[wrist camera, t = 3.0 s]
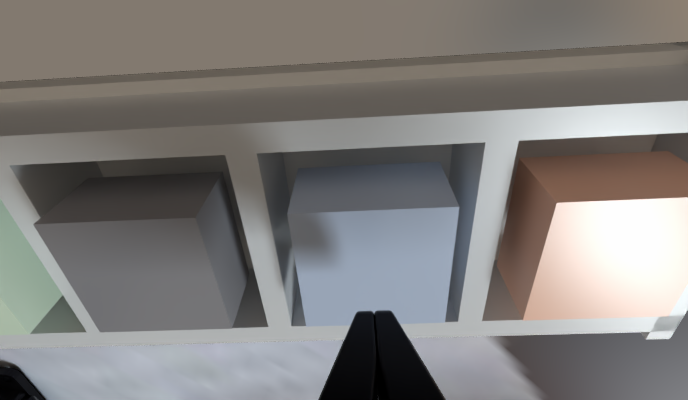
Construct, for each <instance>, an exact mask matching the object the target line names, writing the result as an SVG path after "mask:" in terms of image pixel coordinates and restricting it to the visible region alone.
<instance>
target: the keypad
mask: <svg viewBox="0 0 688 400" xmlns="http://www.w3.org/2000/svg"><path fill="white" fill-rule="evenodd" d="M657 151H669V152H671V153H672V154H674V155H675V156H677V157H679V158H680V159H682V160H684V161H685V162H687V163H688V42H677V43H662V44H661V43H660V44H643V45H626V46H608V47H592V48H575V49H557V50H540V51H524V52H506V53H490V54H489V53H488V54H471V55H454V56H437V57H420V58H403V59H386V60H370V61H351V62H334V63H317V64H300V65H283V66H266V67H248V68H232V69H216V70H198V71H181V72H164V73H146V74H128V75H113V76H112V75H111V76H95V77H77V78H60V79H43V80H26V81H8V82H0V199H1V200H2V202H3V204H4V205H5V207H6V208H7V210H8V211H9V213H10V214H11V216H12V217H13V219H14V221H15V222H16V224H17V225H18V227H19V228H20V230H21V231H22V233H23V234H24V236H25V237H26V239H27V241H28V242H29V244H30V245H31V247H32V248H33V250H34V251H35V253H36V254H37V256H38V258H39V259H40V261H41V262H42V264H43V265H44V267H45V268H46V270H47V271H48V273H49V274H50V276H51V278H52V279H53V281H54V282H55V284H56V285H57V287H58V288H59V290H60V291H61V293H62V297H61V298H60V299H59V300H58V301H57V302H56V304H55V305H54V306H53V307H52V308H51V310H50V311H49V312H48V313H47V314H46V315H45V317H44V318H43V319H42V320H41V321H40V323H39V324H38V325H37V326H36V327H35V328H34V330H33V331H32V332H31V333H30V334H27V335H0V349H21V348H59V347H96V346H134V345H172V344H210V343H248V342H285V341H323V340H344V339H345V337H346V335H347V332H348V330H349V328H350V325H347V326H311V327H306V322H305V316H304V311H303V305H302V299H301V293H300V287H299V281H298V275H297V270H296V264H295V258H294V252H293V246H292V240H291V234H290V228H289V223H288V217H287V212H288V208H289V204H290V200H291V196H292V192H293V187H294V183H295V179H296V175H297V171H298V168H312V167H334V166H356V165H377V164H399V163H420V162H440V163H441V166H442V168H443V170H444V172H445V175H446V177H447V179H448V182H449V184H450V186H451V188H452V191H453V193H454V195H455V198H456V200H457V202H458V204H459V215H458V223H457V231H456V239H455V247H454V254H453V262H452V270H451V278H450V286H449V294H448V302H447V310H446V318H445V323H418V324H400V325H401V327H402V328H403V330H404V332H405V333H406V335H407V337H408V338H437V337H474V336H512V335H550V334H585V333H586V334H588V333H621V332H622V333H626V332H641V334H642V335H643V336H644V338H645V339H670V337H671V336H672V334H673V333H674V331H675V329H676V328H677V326H678V325H679V323H680V321H681V320H682V318H683V317H684V315H685V313H686V312H687V310H688V284H687V286H686V288H685V289H684V291H683V293H682V294H681V296H680V298H679V300H678V301H677V303H676V305H675V306H674V308H673V310H672V311H671V313H670V315H669V316H667V317H631V318H596V319H560V320H525V321H523V320H522V318H521V316H520V314H519V312H518V310H517V307H516V305H515V303H514V301H513V299H512V297H511V295H510V293H509V291H508V288H507V286H506V284H505V282H504V280H503V278H502V276H501V274H500V272H499V269H498V267H497V261H498V257H499V252H500V247H501V242H502V237H503V233H504V228H505V223H506V218H507V214H508V209H509V204H510V199H511V195H512V190H513V185H514V180H515V176H516V171H517V166H518V161H519V158H528V157H549V156H571V155H593V154H614V153H636V152H657ZM205 172H223V175H224V179H225V183H226V186H227V190H228V194H229V198H230V202H231V205H232V209H233V213H234V217H235V221H236V224H237V228H238V232H239V236H240V240H241V243H242V247H243V251H244V255H245V259H246V263H247V266H248V270H249V277H248V280H247V283H246V287H245V290H244V293H243V296H242V299H241V302H240V305H239V309H238V312H237V315H236V318H235V321H234V324H233V328H232V329H204V330H169V331H133V332H99V330H98V328H97V327H96V325H95V324H94V322H93V320H92V319H91V317H90V315H89V314H88V312H87V311H86V309H85V307H84V306H83V304H82V303H81V301H80V299H79V298H78V296H77V295H76V293H75V291H74V290H73V288H72V286H71V285H70V283H69V282H68V280H67V278H66V277H65V275H64V274H63V272H62V270H61V269H60V267H59V266H58V264H57V262H56V261H55V259H54V257H53V256H52V254H51V253H50V251H49V249H48V248H47V246H46V245H45V243H44V241H43V240H42V238H41V237H40V235H39V233H38V232H37V230H36V228H35V227H34V225H33V224H34V223H35V222H36V221H38V220H39V219H40V218H41V217H42V216H43V215H45V214H46V213H47V212H48V211H49V210H51V209H52V208H53V207H54V206H55V205H56V204H58V203H59V202H60V201H61V200H62V199H64V198H65V197H66V196H67V195H68V194H70V193H71V192H72V191H73V190H74V189H75V188H77V187H78V186H79V185H80V184H81V183H83V182H84V181H85V180H86V179H87V178H97V177H118V176H140V175H162V174H183V173H205Z"/></svg>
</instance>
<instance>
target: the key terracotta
mask: <svg viewBox="0 0 688 400" xmlns="http://www.w3.org/2000/svg"><path fill="white" fill-rule="evenodd" d="M497 267H498V269H499V272H500V274H501V276H502V278H503V280H504V282H505V284H506V286H507V288H508V291H509V293H510V295H511V297H512V299H513V301H514V303H515V305H516V307H517V310H518V312H519V314H520V316H521V318H522V320H523V321H525V320H560V319H596V318H631V317H667V316H669V315H670V313H671V311H672V310H673V308H674V306H675V305H676V303H677V301H678V300H679V298H680V296H681V294H682V293H683V291H684V289H685V288H686V286H687V284H688V163H687V162H685V161H684V160H682V159H680V158H679V157H677V156H675V155H674V154H672V153H671V152H669V151H657V152H636V153H614V154H593V155H571V156H549V157H528V158H519V161H518V166H517V171H516V176H515V180H514V185H513V190H512V195H511V199H510V204H509V209H508V214H507V218H506V223H505V228H504V233H503V237H502V242H501V247H500V252H499V257H498V261H497Z"/></svg>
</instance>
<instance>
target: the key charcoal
mask: <svg viewBox="0 0 688 400" xmlns="http://www.w3.org/2000/svg"><path fill="white" fill-rule="evenodd" d="M33 225H34V227H35V228H36V230H37V232H38V233H39V235H40V237H41V238H42V240H43V241H44V243H45V245H46V246H47V248H48V249H49V251H50V253H51V254H52V256H53V257H54V259H55V261H56V262H57V264H58V266H59V267H60V269H61V270H62V272H63V274H64V275H65V277H66V278H67V280H68V282H69V283H70V285H71V286H72V288H73V290H74V291H75V293H76V295H77V296H78V298H79V299H80V301H81V303H82V304H83V306H84V307H85V309H86V311H87V312H88V314H89V315H90V317H91V319H92V320H93V322H94V324H95V325H96V327H97V328H98V330H99V332H133V331H169V330H204V329H232V328H233V324H234V321H235V318H236V315H237V312H238V309H239V305H240V302H241V299H242V296H243V293H244V290H245V287H246V283H247V280H248V277H249V270H248V266H247V263H246V259H245V255H244V251H243V247H242V243H241V240H240V236H239V232H238V228H237V224H236V221H235V217H234V213H233V209H232V205H231V202H230V198H229V194H228V190H227V186H226V183H225V179H224V175H223V172H205V173H183V174H162V175H140V176H118V177H97V178H87V179H86V180H85V181H84V182H83V183H81V184H80V185H79V186H78V187H77V188H75V189H74V190H73V191H72V192H71V193H70V194H68V195H67V196H66V197H65V198H64V199H62V200H61V201H60V202H59V203H58V204H56V205H55V206H54V207H53V208H52V209H51V210H49V211H48V212H47V213H46V214H45V215H43V216H42V217H41V218H40V219H39V220H38V221H36V222H35V223H34V224H33Z"/></svg>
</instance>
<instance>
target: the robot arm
mask: <svg viewBox="0 0 688 400" xmlns="http://www.w3.org/2000/svg"><path fill="white" fill-rule="evenodd" d="M0 400H44V399H43V398H42V397H41V395H40V394H39V393H38V392H37V391H36V390H35V389H34V387H33V386H32V385H31V384H30V383H29V382H28V381H27V379H26V378H25V377H24V376H23V375H22V374H21V373H20V372H19V371H18V370H16V369H13V368H0ZM319 400H446V399H445V398H444V396H443V394H442V393H441V391H440V389H439V388H438V386H437V384H436V383H435V381H434V379H433V378H432V376H431V375H430V373H429V371H428V370H427V368H426V366H425V365H424V363H423V361H422V360H421V358H420V356H419V355H418V353H417V351H416V350H415V348H414V346H413V345H412V343H411V342H410V340H409V338H408V337H407V335H406V333H405V332H404V330H403V328H402V327H401V325H400V323H399V322H398V320H397V318H396V317H395V315H394V314H393V312H392V311H390V310H377V311H375V313H374V312H373V311H358V312H357V313H356V314H355V316H354V318H353V321H352V323H351V325H350V328H349V330H348V332H347V335H346V337H345V339H344V342H343V344H342V346H341V349H340V351H339V353H338V355H337V358H336V360H335V362H334V365H333V367H332V369H331V372H330V374H329V376H328V379H327V381H326V383H325V386H324V388H323V390H322V393H321V395H320V397H319Z"/></svg>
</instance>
